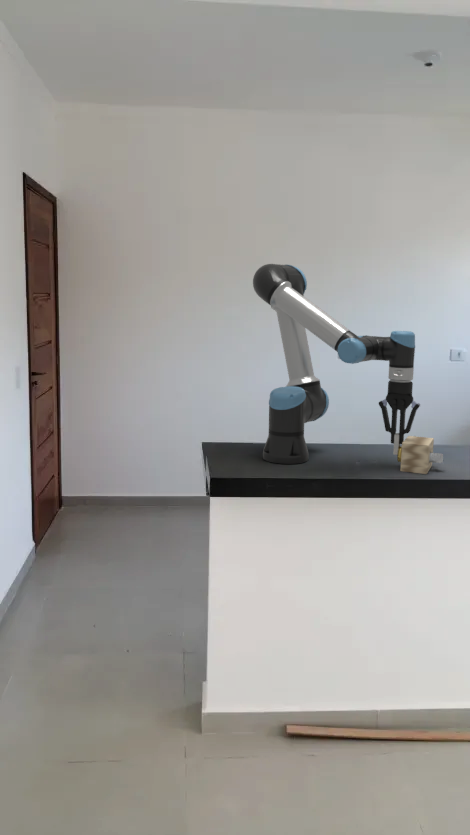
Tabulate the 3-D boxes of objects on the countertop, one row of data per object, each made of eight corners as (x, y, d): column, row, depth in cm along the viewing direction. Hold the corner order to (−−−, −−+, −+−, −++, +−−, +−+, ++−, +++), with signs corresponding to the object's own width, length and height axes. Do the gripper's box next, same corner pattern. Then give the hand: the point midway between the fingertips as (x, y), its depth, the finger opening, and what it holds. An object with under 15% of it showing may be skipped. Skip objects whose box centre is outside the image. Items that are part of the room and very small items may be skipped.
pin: (396, 463, 220) (397, 447, 219) (399, 460, 225) (400, 444, 224) (440, 468, 215) (441, 452, 214) (442, 464, 220) (443, 449, 219)
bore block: (400, 471, 217) (402, 442, 215) (406, 462, 228) (408, 435, 226) (426, 474, 214) (428, 445, 212) (432, 465, 225) (433, 438, 223)
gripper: (377, 380, 217) (373, 454, 222) (419, 383, 212) (415, 458, 217) (382, 378, 224) (378, 449, 228) (423, 380, 219) (419, 453, 223)
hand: (396, 453), depth 222 cm, fingers closed
